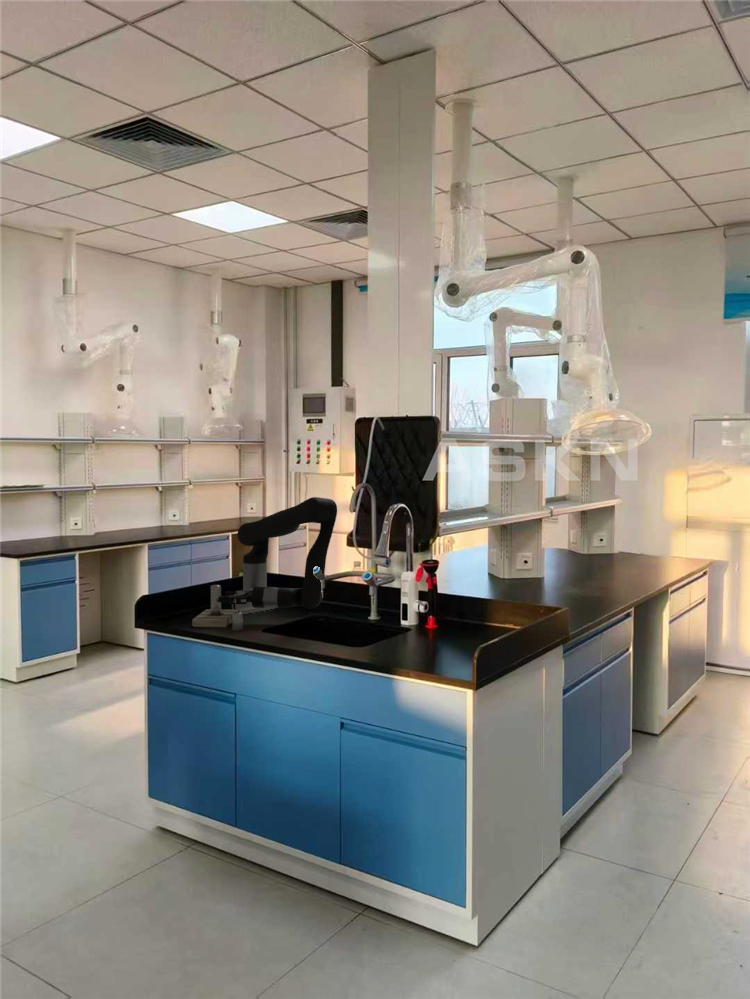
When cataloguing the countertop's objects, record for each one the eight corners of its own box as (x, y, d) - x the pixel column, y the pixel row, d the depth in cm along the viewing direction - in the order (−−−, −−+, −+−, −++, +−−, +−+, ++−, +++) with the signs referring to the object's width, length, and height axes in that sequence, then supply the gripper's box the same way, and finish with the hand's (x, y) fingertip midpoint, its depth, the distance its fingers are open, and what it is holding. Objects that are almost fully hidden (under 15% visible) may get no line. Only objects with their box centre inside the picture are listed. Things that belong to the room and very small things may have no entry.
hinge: (240, 615, 294) (234, 589, 295) (232, 618, 297) (227, 592, 298) (275, 609, 306) (269, 584, 307) (267, 611, 309) (262, 587, 311)
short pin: (233, 628, 272) (233, 611, 272) (244, 628, 272) (243, 611, 272) (231, 631, 269) (231, 613, 268) (241, 631, 268) (241, 613, 268)
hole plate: (206, 615, 293) (206, 609, 293) (238, 616, 292) (238, 609, 292) (192, 626, 275) (192, 619, 275) (226, 627, 275) (226, 620, 274)
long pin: (212, 620, 286) (212, 584, 285) (222, 620, 286) (221, 584, 285) (209, 622, 282) (209, 586, 281) (219, 622, 282) (219, 586, 281)
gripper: (270, 583, 289) (226, 583, 290) (262, 590, 275) (216, 590, 276) (270, 603, 290) (226, 603, 290) (262, 611, 275) (216, 611, 276)
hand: (221, 596), depth 283 cm, fingers open, 8 cm apart
